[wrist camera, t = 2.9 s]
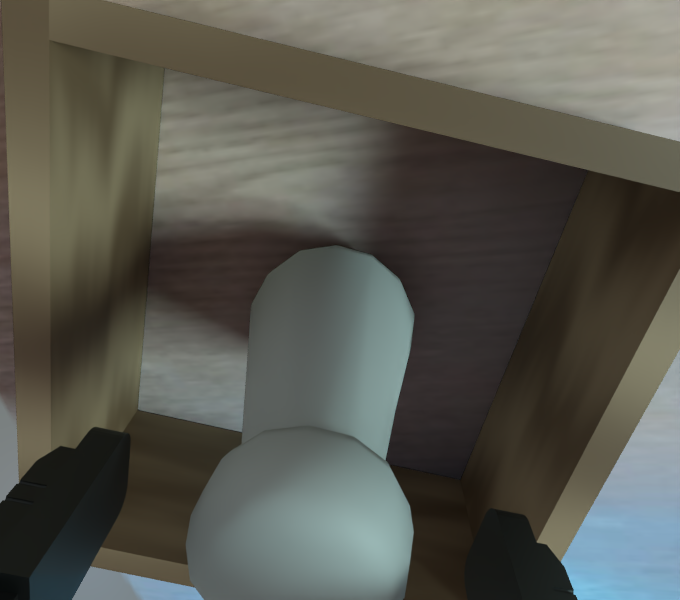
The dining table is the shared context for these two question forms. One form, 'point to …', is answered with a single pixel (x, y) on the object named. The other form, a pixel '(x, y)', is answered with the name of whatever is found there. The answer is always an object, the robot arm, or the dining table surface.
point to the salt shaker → (313, 442)
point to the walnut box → (133, 265)
